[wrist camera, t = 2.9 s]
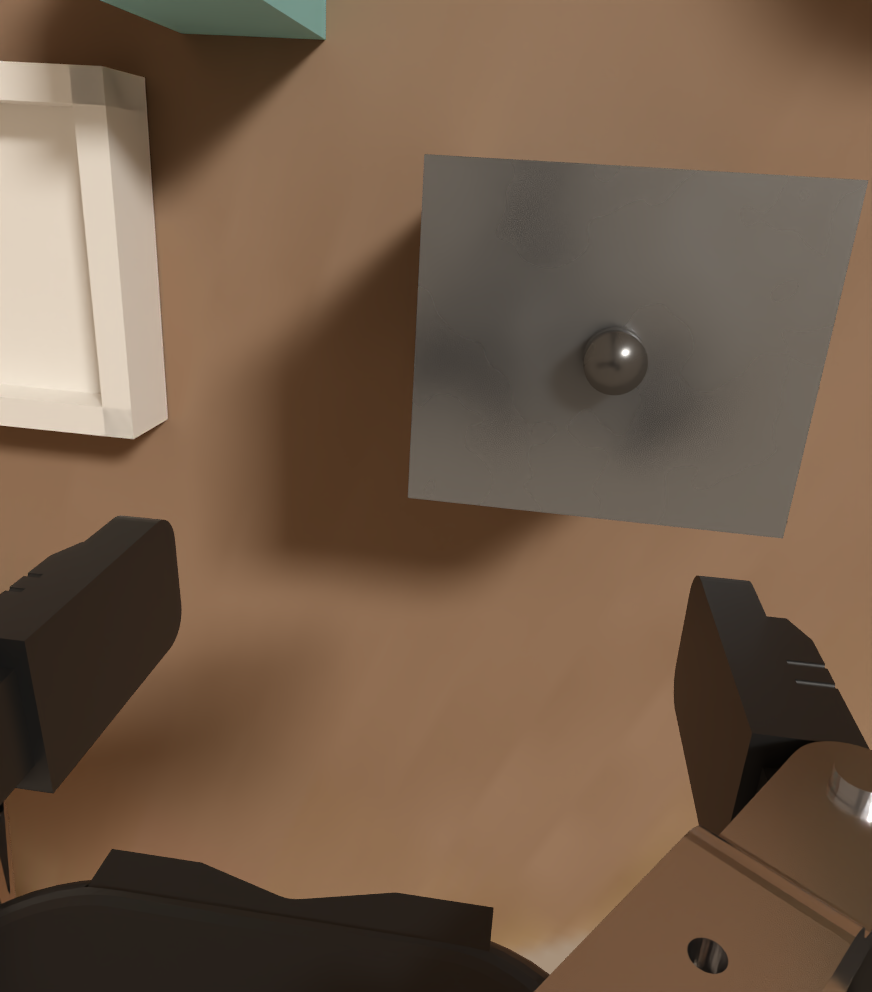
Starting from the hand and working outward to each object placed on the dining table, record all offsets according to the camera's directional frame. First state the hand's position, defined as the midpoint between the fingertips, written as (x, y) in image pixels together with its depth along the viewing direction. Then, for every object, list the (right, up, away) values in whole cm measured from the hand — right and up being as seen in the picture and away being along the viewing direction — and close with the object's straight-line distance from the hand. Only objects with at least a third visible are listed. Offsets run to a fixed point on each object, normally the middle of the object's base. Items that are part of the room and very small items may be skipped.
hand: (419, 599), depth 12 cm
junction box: (+5, +8, +13) cm, 16 cm away
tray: (-15, +10, +15) cm, 23 cm away
